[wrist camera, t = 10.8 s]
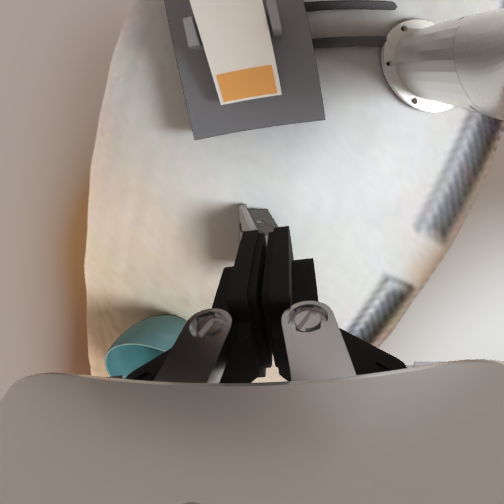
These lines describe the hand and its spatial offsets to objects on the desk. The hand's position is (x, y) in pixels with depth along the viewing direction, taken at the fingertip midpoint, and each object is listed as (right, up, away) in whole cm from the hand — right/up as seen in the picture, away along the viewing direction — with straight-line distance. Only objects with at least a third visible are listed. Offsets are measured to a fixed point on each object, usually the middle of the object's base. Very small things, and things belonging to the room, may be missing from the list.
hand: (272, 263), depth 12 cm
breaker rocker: (-2, +21, +10) cm, 23 cm away
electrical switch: (0, +3, +32) cm, 33 cm away
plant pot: (-15, -14, +44) cm, 49 cm away
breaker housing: (-1, +26, +19) cm, 32 cm away
